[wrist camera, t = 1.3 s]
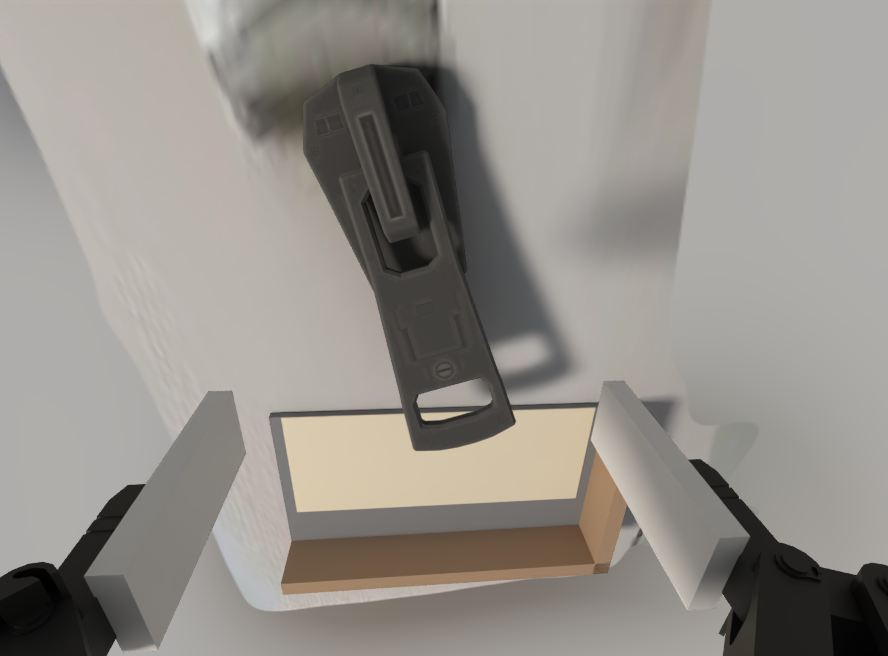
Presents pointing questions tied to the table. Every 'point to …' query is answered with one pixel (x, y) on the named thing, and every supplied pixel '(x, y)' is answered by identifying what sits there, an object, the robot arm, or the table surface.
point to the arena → (442, 500)
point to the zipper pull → (406, 237)
